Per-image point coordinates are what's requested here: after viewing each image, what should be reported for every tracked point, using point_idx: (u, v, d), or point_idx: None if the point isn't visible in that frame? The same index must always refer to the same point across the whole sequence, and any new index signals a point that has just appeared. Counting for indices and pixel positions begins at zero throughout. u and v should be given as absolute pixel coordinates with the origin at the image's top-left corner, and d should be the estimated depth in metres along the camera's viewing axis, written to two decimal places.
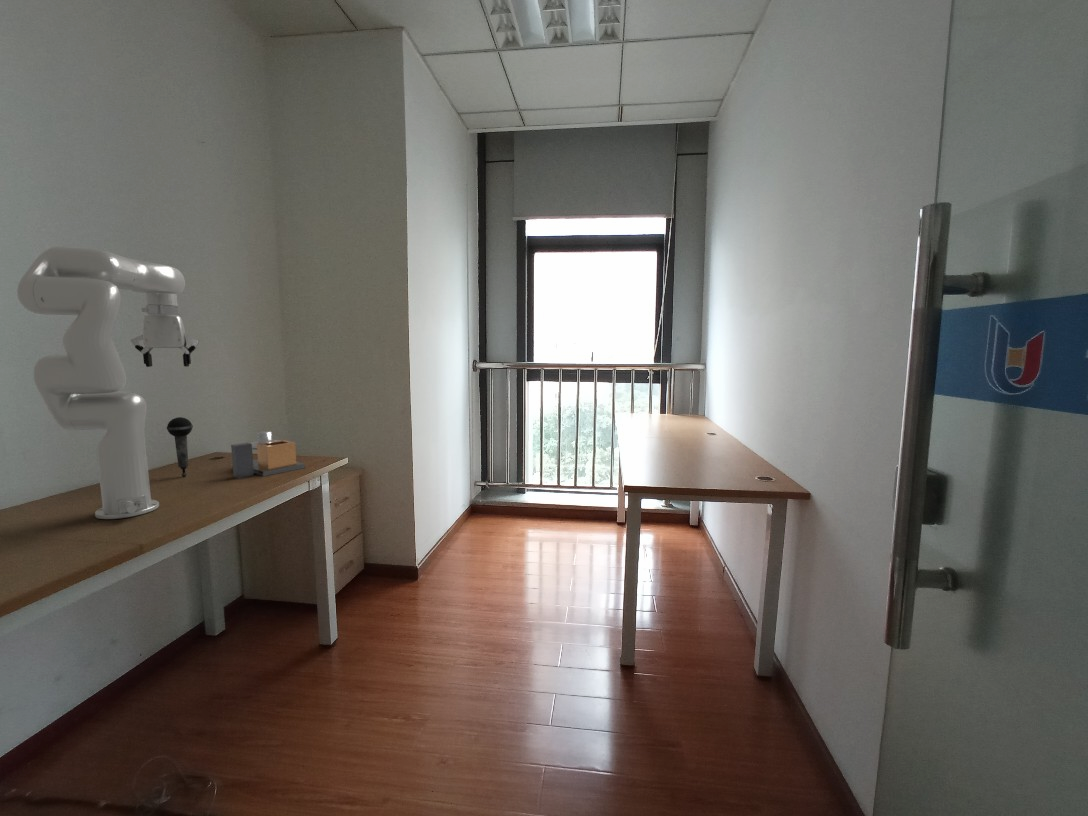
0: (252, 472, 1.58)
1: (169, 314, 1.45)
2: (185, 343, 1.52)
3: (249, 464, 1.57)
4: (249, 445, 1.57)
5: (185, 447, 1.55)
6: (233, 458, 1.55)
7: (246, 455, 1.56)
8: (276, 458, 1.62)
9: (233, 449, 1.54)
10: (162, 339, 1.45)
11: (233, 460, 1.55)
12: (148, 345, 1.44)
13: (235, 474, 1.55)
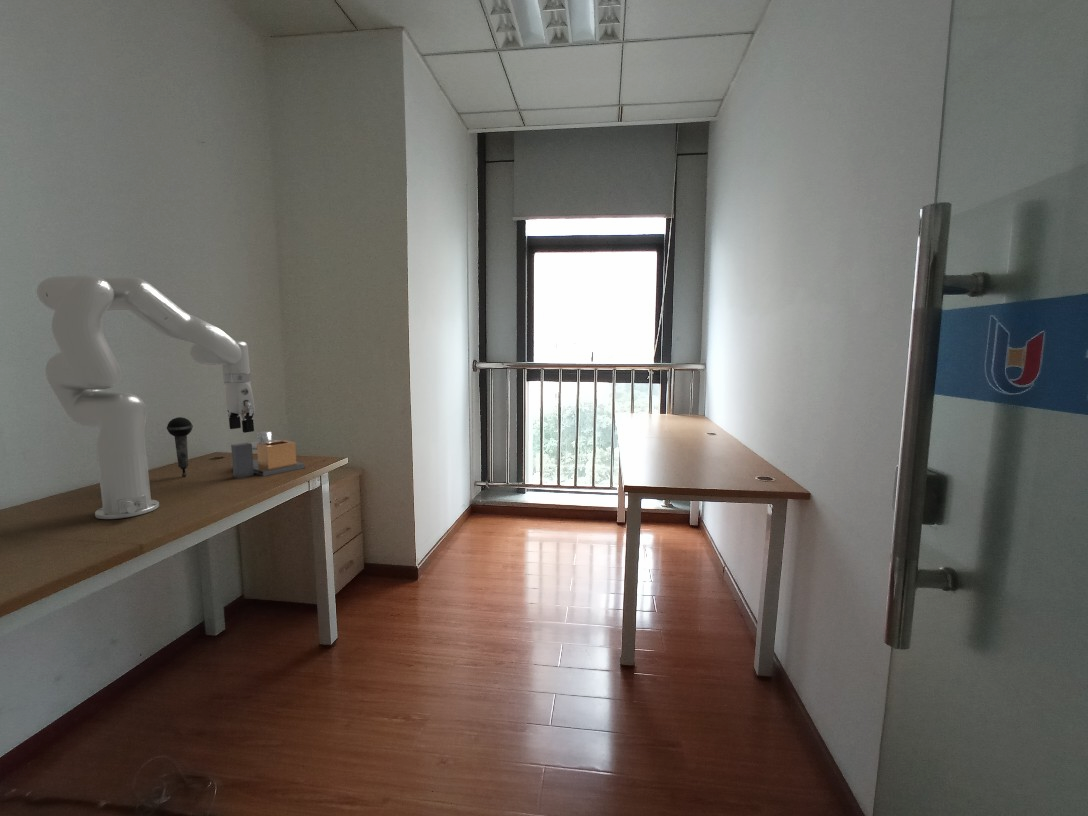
0: (252, 472, 1.58)
1: None
2: None
3: (249, 464, 1.57)
4: (249, 445, 1.57)
5: (185, 447, 1.55)
6: (233, 458, 1.55)
7: (246, 455, 1.56)
8: (276, 458, 1.62)
9: (233, 449, 1.54)
10: None
11: (233, 460, 1.55)
12: None
13: (235, 474, 1.55)
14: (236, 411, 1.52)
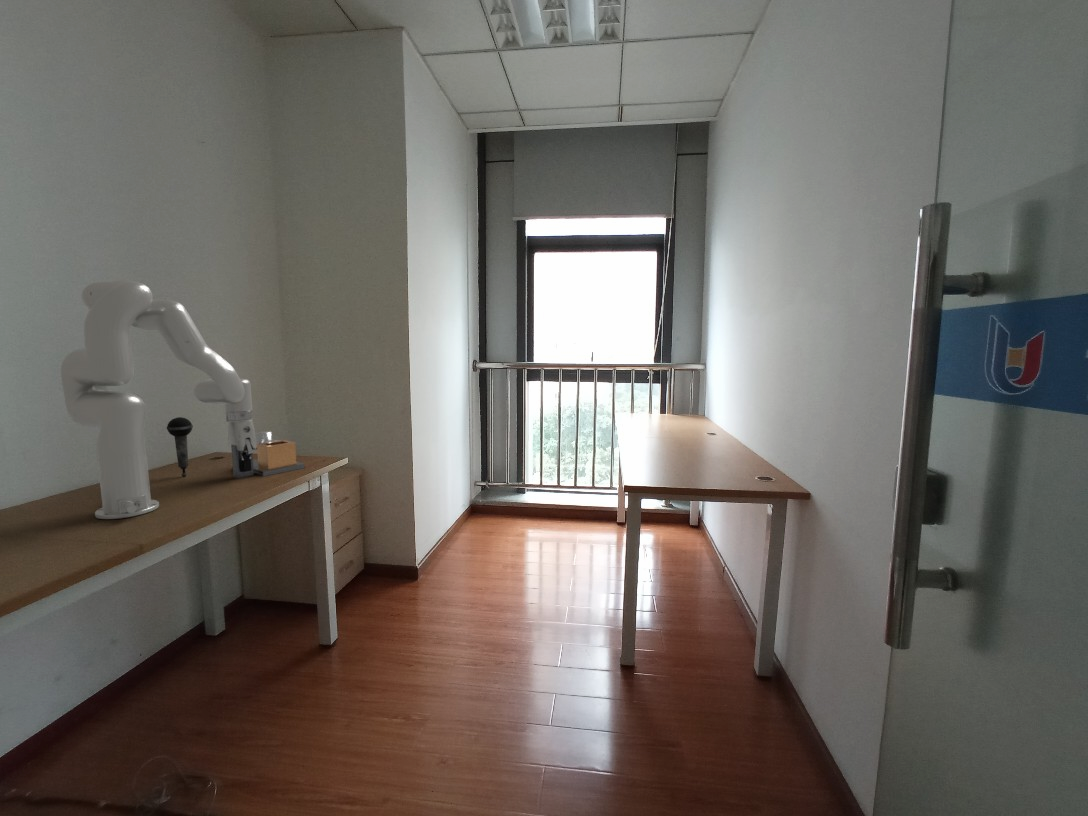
0: (252, 472, 1.58)
1: None
2: None
3: None
4: None
5: (185, 447, 1.55)
6: (233, 458, 1.55)
7: None
8: (276, 458, 1.62)
9: (233, 449, 1.54)
10: None
11: (233, 460, 1.55)
12: None
13: (235, 474, 1.55)
14: (238, 448, 1.53)
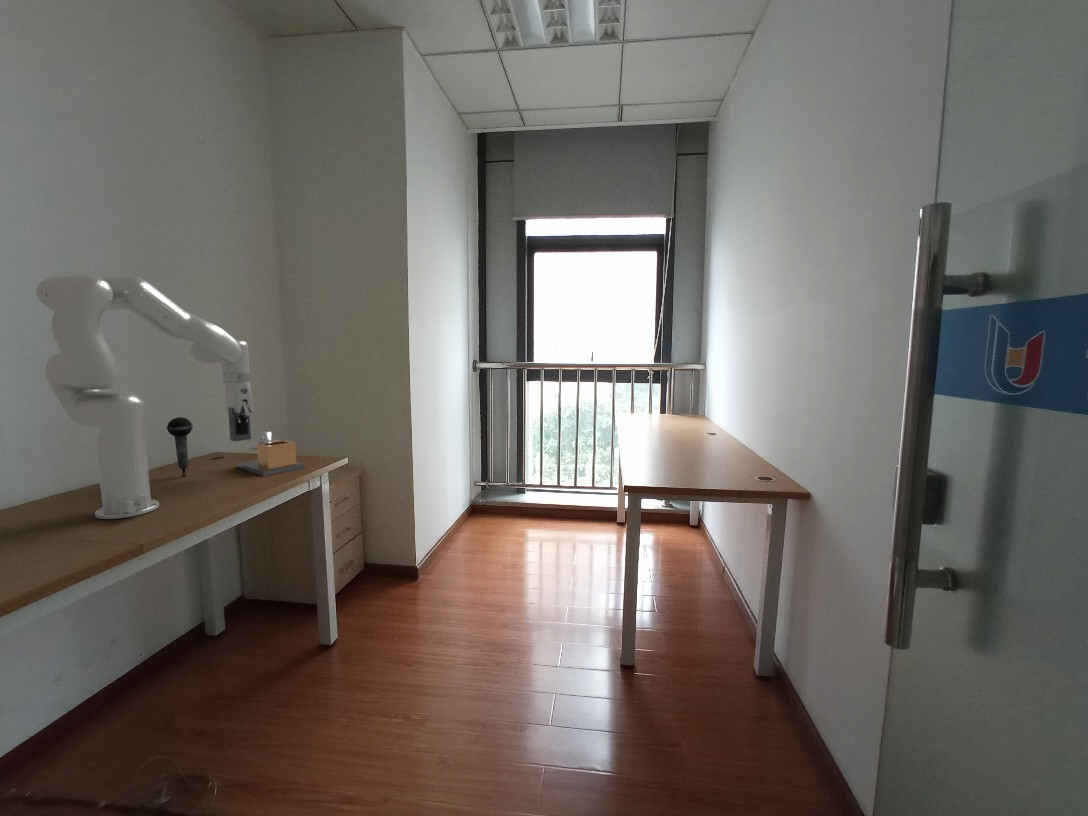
0: (249, 436, 1.56)
1: None
2: None
3: None
4: None
5: (185, 447, 1.55)
6: (229, 420, 1.53)
7: None
8: (276, 458, 1.62)
9: (230, 411, 1.52)
10: None
11: (230, 423, 1.53)
12: None
13: (232, 436, 1.53)
14: (234, 410, 1.51)
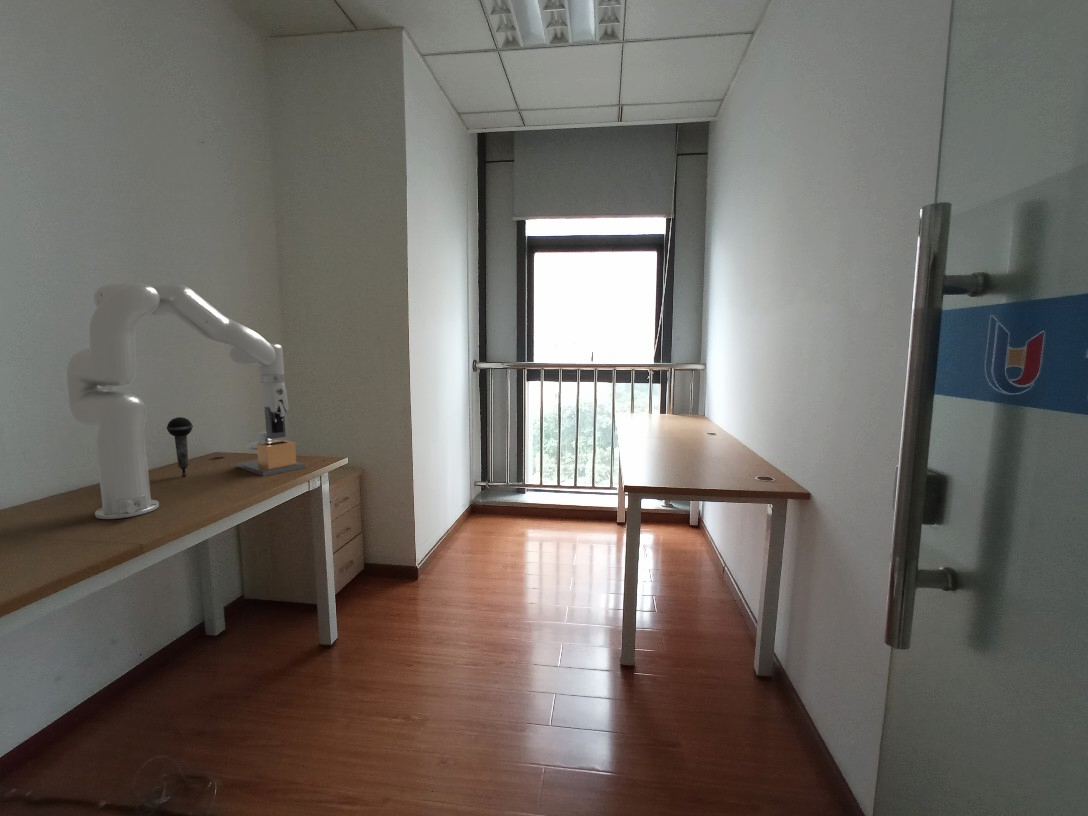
0: (284, 433, 1.66)
1: None
2: None
3: None
4: None
5: (185, 447, 1.55)
6: (266, 419, 1.63)
7: None
8: (276, 458, 1.62)
9: (266, 410, 1.62)
10: None
11: (266, 421, 1.63)
12: None
13: (268, 434, 1.63)
14: (271, 410, 1.60)
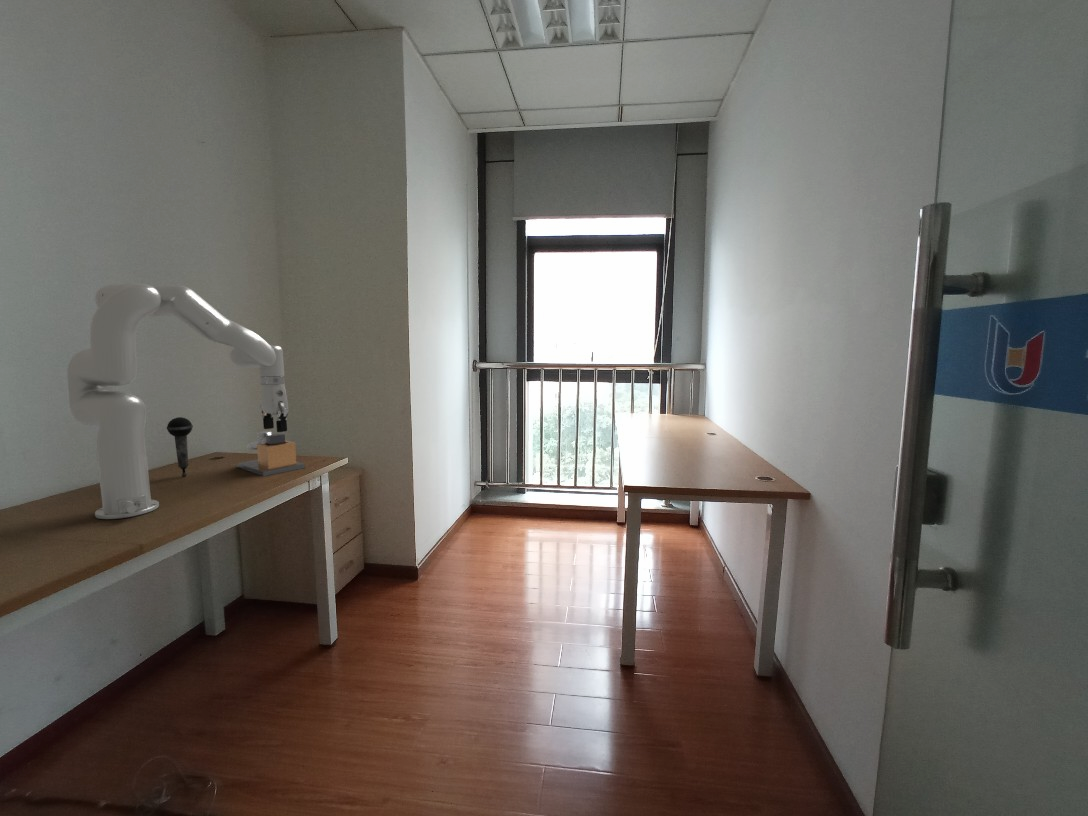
0: None
1: None
2: None
3: None
4: (282, 436, 1.65)
5: (185, 447, 1.55)
6: None
7: None
8: (276, 458, 1.62)
9: (267, 439, 1.63)
10: None
11: None
12: None
13: None
14: (271, 411, 1.60)
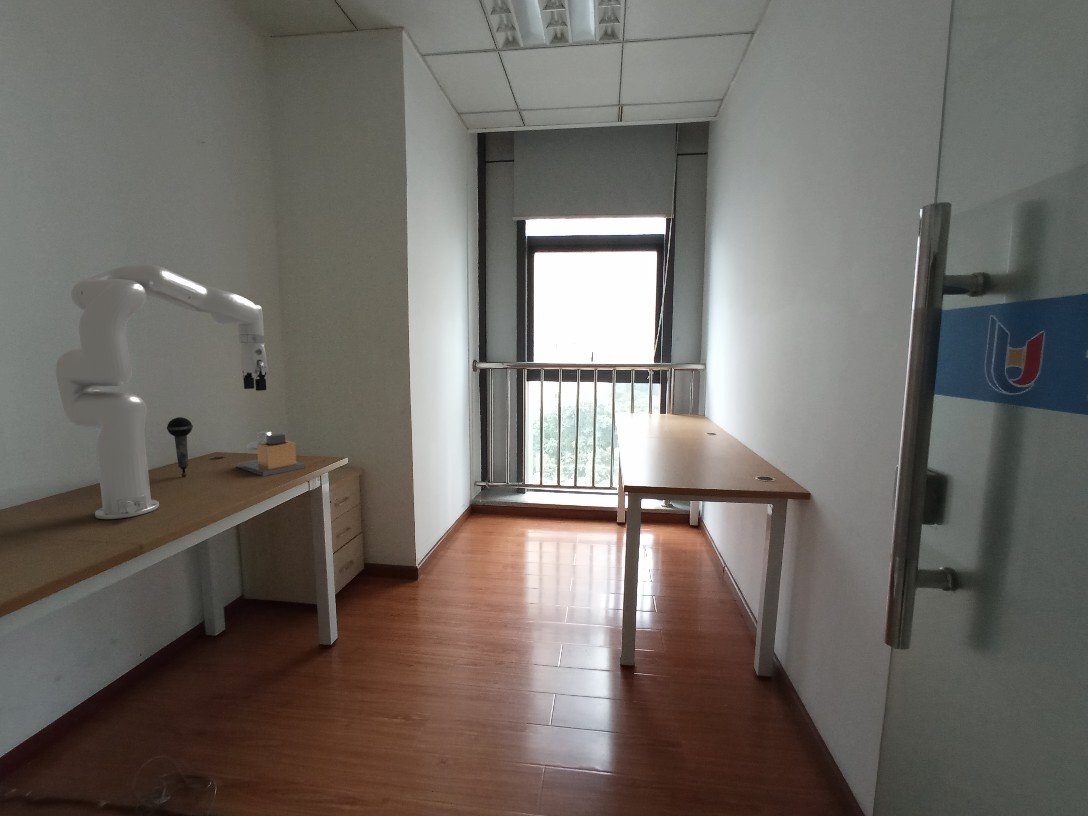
0: None
1: None
2: None
3: None
4: (282, 436, 1.65)
5: (185, 447, 1.55)
6: None
7: None
8: (276, 458, 1.62)
9: (268, 439, 1.63)
10: None
11: None
12: None
13: None
14: (250, 370, 1.60)
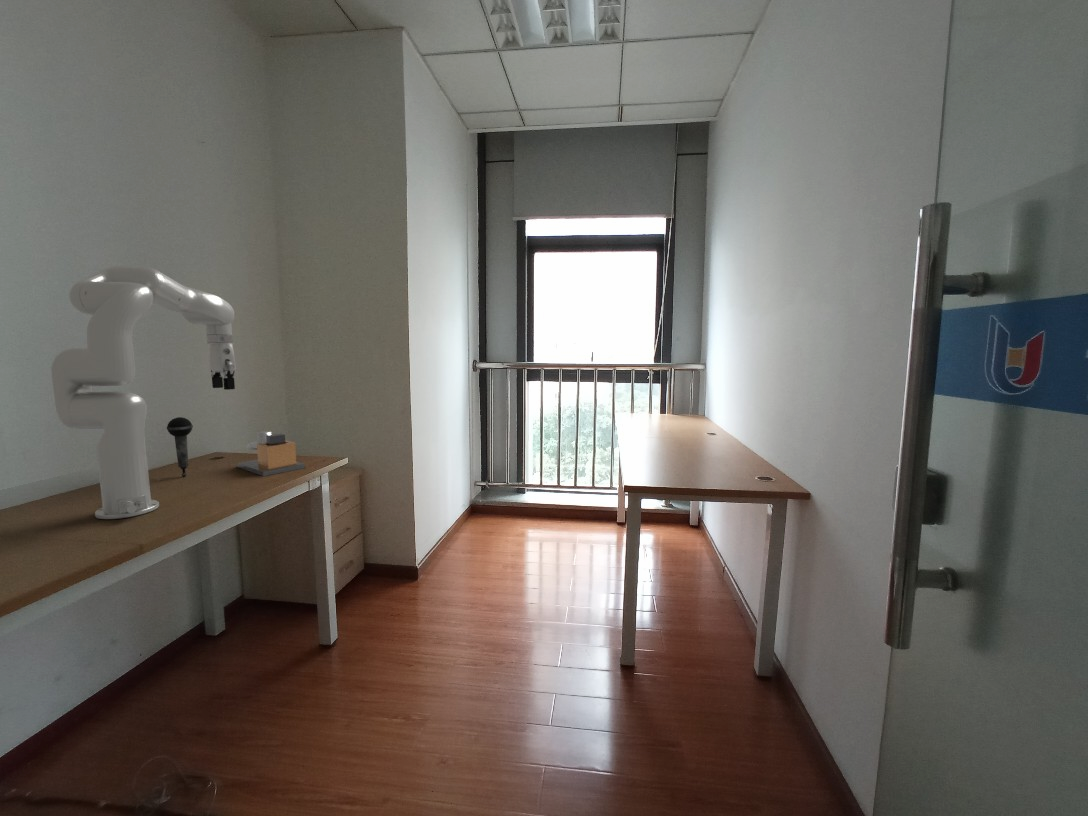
0: None
1: None
2: (211, 367, 1.68)
3: None
4: (282, 436, 1.65)
5: (185, 447, 1.55)
6: None
7: None
8: (276, 458, 1.62)
9: (268, 439, 1.63)
10: None
11: None
12: None
13: None
14: (218, 369, 1.63)
